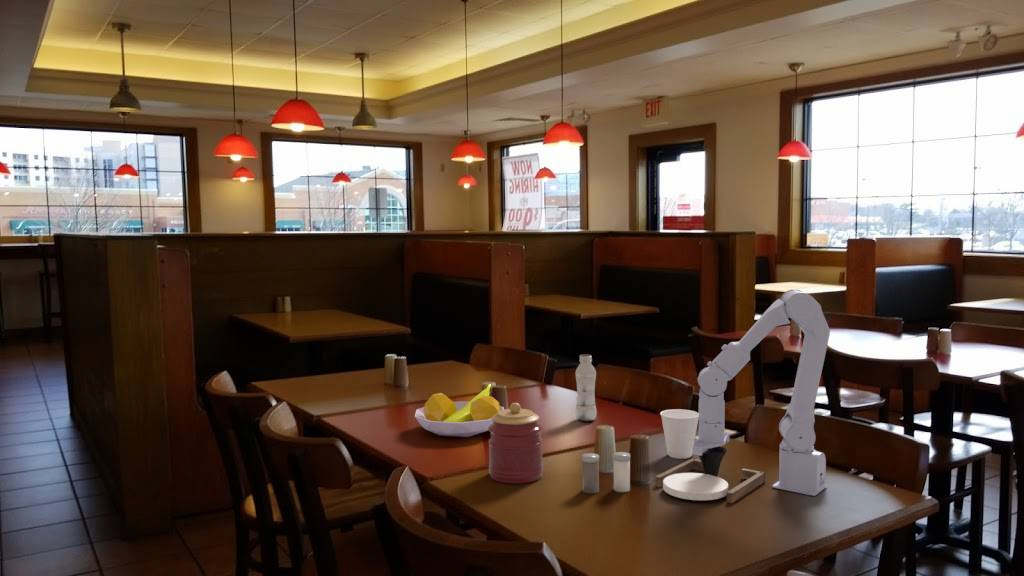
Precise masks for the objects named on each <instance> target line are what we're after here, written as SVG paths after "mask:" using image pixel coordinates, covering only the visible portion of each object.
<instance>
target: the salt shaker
mask: <svg viewBox="0 0 1024 576" xmlns="http://www.w3.org/2000/svg"><path fill="white" fill-rule="evenodd" d="M612 459H613V491H615V492H617V493H627V492H630V491H631V453H629V452H627V451H626V452H625V451H618V452H617V451H615V452H614V453H613V455H612Z"/></svg>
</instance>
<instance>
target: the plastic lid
mask: <svg viewBox="0 0 1024 576" xmlns="http://www.w3.org/2000/svg"><path fill="white" fill-rule="evenodd" d="M662 489H663V491H664V492H665V493H666V494H668V495H670V496H673V497H675V498H678V499H683V500H691V501H715V500H718V499H721V498H725V497H726V496H727V492H728V491H729V483H728V481H726V480H725V479H724V478H721V477H719V476H717V477H716V476H712V475H709V474H705V473H701V472H700V473H699V472H688V473H678V474H674V475H670V476H667V477H666V478H665V479H664V480H663V486H662Z"/></svg>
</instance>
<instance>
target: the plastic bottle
mask: <svg viewBox="0 0 1024 576" xmlns="http://www.w3.org/2000/svg"><path fill="white" fill-rule="evenodd" d="M578 362H580V363H579V364H578V366H577V367H576V370H575V381H576V390H577V391H576V393H577V397H576V406H575V417H576V419H577V420H579V421H583V422H589V421H594V420H595V419H596V417H597V414H598V412H597V406H596V398H595V392H596V391H595V388H596V381H597V380H596V379H597V371H596V368H595V367H594V365H593V364H592V362H593V358H592V355H591V354H580V355H579V361H578Z"/></svg>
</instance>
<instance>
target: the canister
mask: <svg viewBox="0 0 1024 576" xmlns="http://www.w3.org/2000/svg"><path fill="white" fill-rule="evenodd" d="M492 420H493V423H492V424H491V425H489V427H488V432H490V438H489V439H488V452H489V453H488V455H489V456H488V457H489V459H488V460H489V461H488V462H489V465H488V473H489V477H490V478H491V479H492V480H493V481H496V482H498V483H504V484H515V485H517V484H527V483H532V482H535V481H537V480H538V481H539V480H540V479H541V478H542V477H543V472H544V463H543V443H544V440H543V438H542V435H541V432H542V431H543V429H544V427H543V425H542V424H541V423H540V422H539V420H540V416H539V415H538V414H537V413H534V412H533V411H532V410H530V409H525V408H522V407H521V404H520V403H518V402H512V403H511V404H510V406H509V408H506V409H505V408H504V410H501V411H499V412H498V413H497V414H495V415H493V416H492Z"/></svg>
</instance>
